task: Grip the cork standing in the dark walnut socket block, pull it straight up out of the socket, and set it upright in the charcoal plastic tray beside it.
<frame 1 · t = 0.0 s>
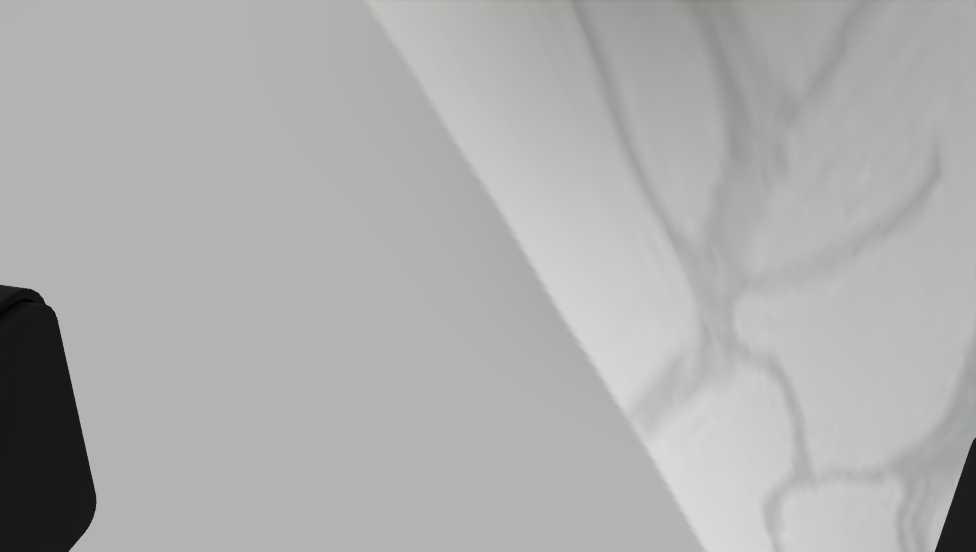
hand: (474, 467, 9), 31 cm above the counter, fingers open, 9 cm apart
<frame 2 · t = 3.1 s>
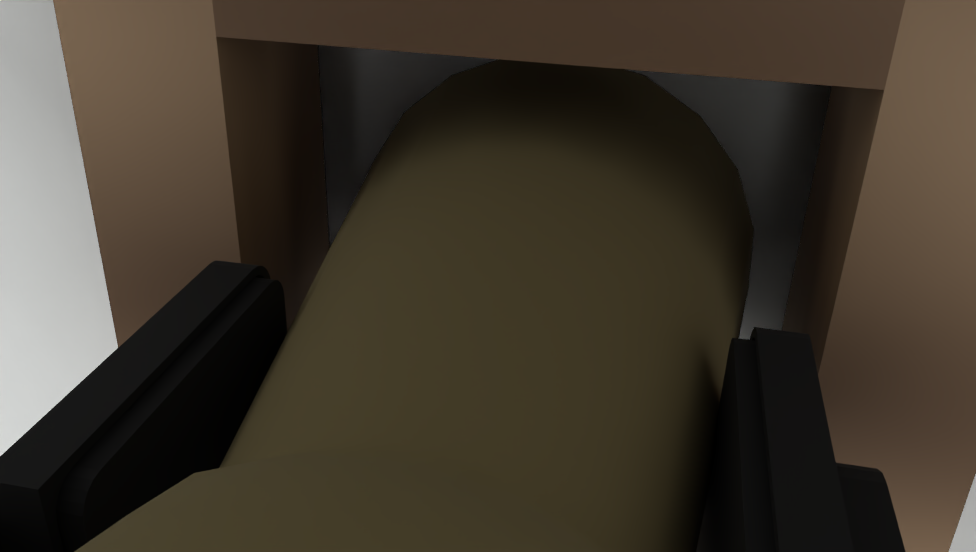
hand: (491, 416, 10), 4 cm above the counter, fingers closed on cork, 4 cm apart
socket block: (550, 247, 14), on the counter
cork: (551, 244, 14), resting in socket block, touching gripper
when the fingers open (6 cm above the counter, at t = 8.1 s): cork drops 1 cm, resting on tray.
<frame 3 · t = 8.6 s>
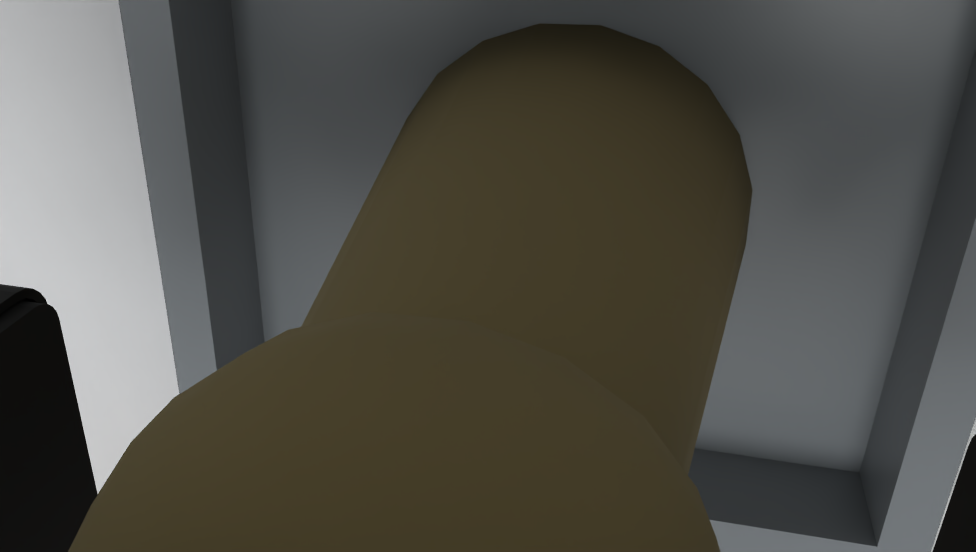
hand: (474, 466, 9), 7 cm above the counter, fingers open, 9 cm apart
cork: (567, 200, 15), resting on tray
tray: (567, 197, 16), on the counter
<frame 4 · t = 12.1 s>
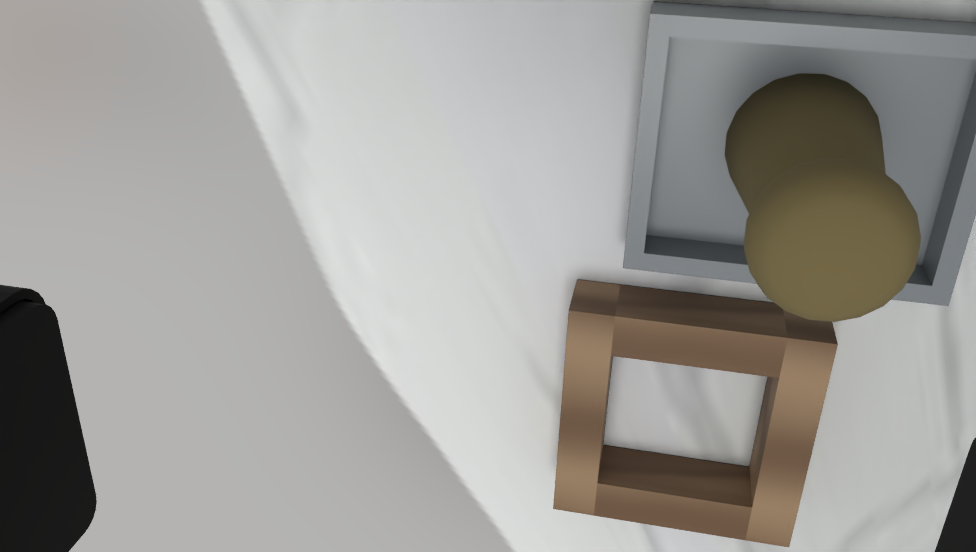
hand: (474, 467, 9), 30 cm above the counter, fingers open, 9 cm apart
socket block: (684, 396, 44), on the counter
cork: (801, 145, 37), resting on tray
tray: (798, 144, 37), on the counter
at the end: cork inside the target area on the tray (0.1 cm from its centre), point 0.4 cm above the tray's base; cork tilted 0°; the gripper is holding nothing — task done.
